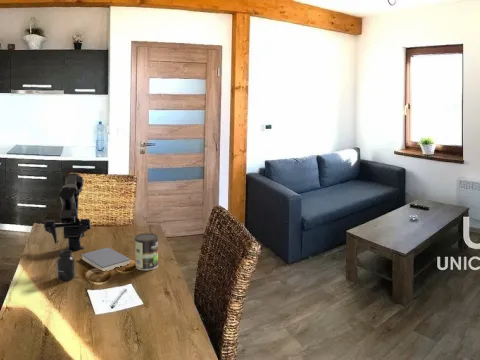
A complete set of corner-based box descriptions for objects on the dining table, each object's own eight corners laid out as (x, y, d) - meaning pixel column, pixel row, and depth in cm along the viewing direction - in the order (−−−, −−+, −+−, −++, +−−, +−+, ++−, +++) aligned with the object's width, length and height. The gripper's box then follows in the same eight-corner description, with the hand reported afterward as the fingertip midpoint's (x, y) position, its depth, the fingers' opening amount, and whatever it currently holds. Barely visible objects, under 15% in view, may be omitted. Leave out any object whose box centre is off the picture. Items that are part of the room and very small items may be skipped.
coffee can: (161, 263, 196) (161, 234, 193) (152, 271, 186) (152, 241, 183) (141, 260, 198) (140, 232, 195) (131, 269, 188) (130, 239, 185)
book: (81, 260, 197) (80, 254, 197) (108, 253, 207) (108, 247, 207) (102, 273, 184) (102, 267, 183) (130, 265, 194) (130, 258, 193)
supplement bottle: (56, 282, 173) (54, 254, 170) (58, 275, 179) (57, 248, 177) (74, 280, 175) (72, 253, 172) (75, 274, 181) (74, 247, 179)
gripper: (43, 202, 181) (40, 235, 173) (89, 201, 186) (88, 233, 178) (47, 215, 190) (44, 247, 181) (90, 213, 195) (90, 244, 187)
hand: (67, 242), depth 182 cm, fingers open, 9 cm apart
